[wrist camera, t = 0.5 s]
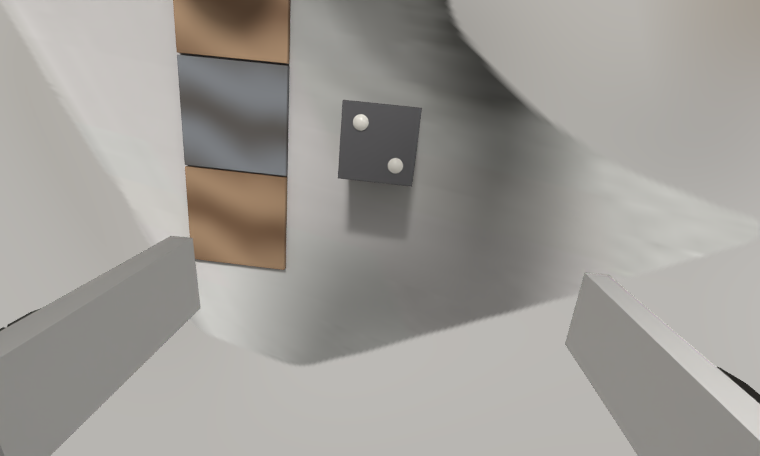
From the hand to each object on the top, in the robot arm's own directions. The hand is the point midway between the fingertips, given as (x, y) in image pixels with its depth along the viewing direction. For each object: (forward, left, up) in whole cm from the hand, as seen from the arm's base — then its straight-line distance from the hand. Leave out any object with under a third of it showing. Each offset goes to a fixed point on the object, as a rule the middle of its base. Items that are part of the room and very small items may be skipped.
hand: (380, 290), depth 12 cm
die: (-3, -2, -24) cm, 24 cm away
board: (-4, -16, -24) cm, 29 cm away
